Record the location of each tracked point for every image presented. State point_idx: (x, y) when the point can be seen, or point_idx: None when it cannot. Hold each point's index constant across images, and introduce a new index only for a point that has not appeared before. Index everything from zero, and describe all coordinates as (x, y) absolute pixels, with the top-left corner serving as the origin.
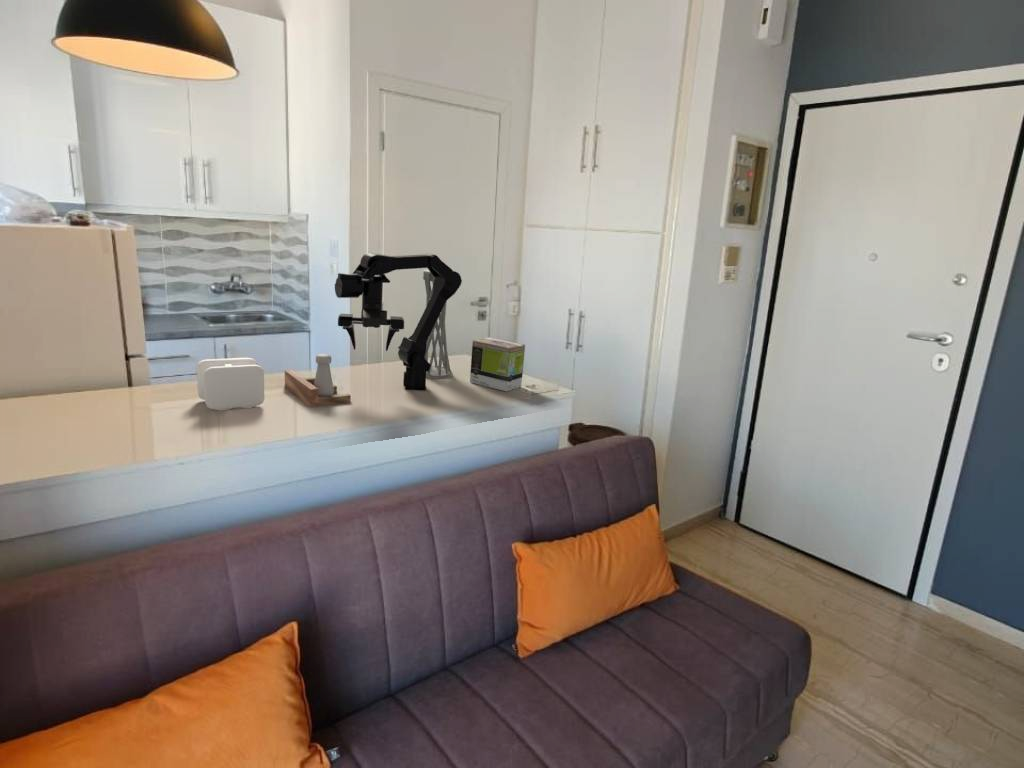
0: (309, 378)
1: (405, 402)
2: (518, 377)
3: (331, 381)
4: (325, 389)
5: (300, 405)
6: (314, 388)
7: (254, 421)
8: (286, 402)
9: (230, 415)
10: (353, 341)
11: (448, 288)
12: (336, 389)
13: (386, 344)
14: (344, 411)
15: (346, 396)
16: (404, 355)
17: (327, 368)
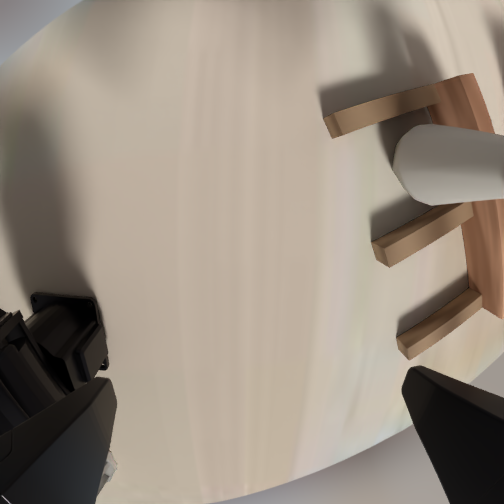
0: (444, 331)
1: (96, 128)
2: None
3: (435, 148)
4: (434, 126)
5: None
6: (467, 82)
7: (493, 31)
8: None
9: None
10: (474, 395)
11: None
12: (378, 245)
13: (76, 415)
14: (336, 24)
15: (348, 108)
16: (31, 391)
17: (493, 141)
